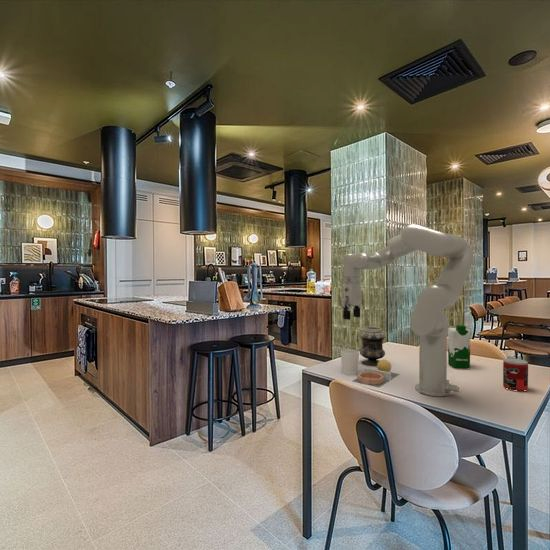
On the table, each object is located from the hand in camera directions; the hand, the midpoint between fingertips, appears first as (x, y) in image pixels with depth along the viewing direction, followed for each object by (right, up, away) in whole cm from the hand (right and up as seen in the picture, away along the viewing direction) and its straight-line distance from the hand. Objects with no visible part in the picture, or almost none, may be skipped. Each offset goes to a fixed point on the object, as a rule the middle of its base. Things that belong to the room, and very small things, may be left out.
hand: (351, 318), depth 159 cm
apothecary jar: (+13, -24, +12) cm, 30 cm away
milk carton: (+52, -24, +7) cm, 58 cm away
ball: (+13, -24, -4) cm, 28 cm away
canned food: (+58, -25, -23) cm, 68 cm away
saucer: (+4, -25, -15) cm, 29 cm away
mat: (+8, -25, -10) cm, 28 cm away
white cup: (-2, -25, -3) cm, 25 cm away
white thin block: (+9, -25, -10) cm, 28 cm away
